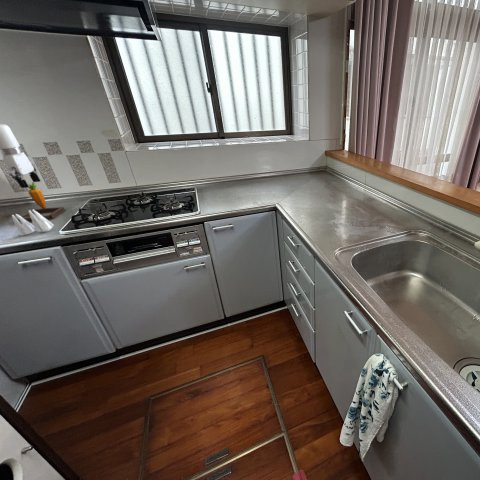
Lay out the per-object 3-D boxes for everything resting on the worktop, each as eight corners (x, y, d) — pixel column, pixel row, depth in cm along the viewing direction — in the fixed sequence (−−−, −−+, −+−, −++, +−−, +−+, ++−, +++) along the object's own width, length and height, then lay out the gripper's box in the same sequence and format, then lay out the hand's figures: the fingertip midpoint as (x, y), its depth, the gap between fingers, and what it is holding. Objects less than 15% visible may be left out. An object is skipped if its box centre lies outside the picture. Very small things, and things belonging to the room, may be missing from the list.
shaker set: (56, 228, 128) (44, 206, 122) (51, 232, 124) (39, 210, 119) (25, 232, 125) (11, 210, 119) (19, 236, 121) (5, 214, 116)
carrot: (36, 211, 145) (20, 184, 138) (41, 207, 149) (26, 181, 142) (47, 210, 147) (32, 183, 139) (52, 206, 151) (38, 180, 143)
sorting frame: (18, 222, 133) (16, 219, 132) (34, 212, 144) (32, 209, 143) (52, 219, 136) (50, 215, 135) (65, 209, 147) (63, 206, 146)
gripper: (14, 148, 139) (33, 180, 147) (-12, 155, 124) (11, 190, 133) (32, 147, 140) (49, 179, 149) (8, 154, 126) (29, 189, 135)
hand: (31, 184), depth 141 cm, fingers open, 9 cm apart
